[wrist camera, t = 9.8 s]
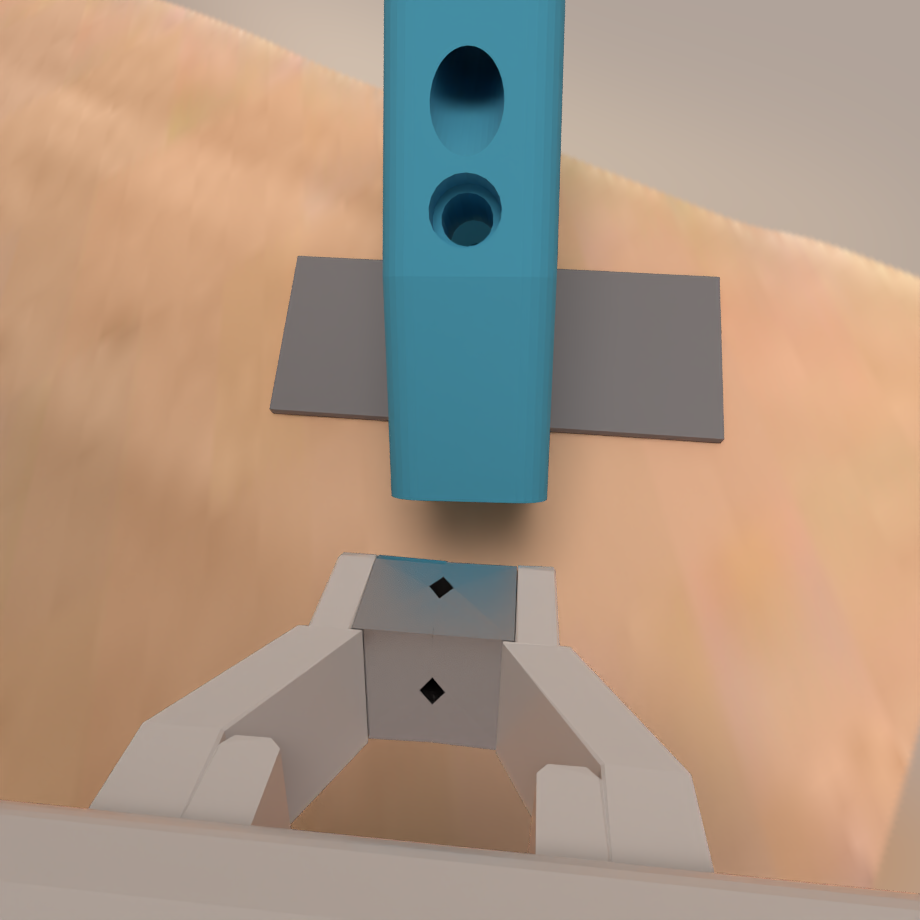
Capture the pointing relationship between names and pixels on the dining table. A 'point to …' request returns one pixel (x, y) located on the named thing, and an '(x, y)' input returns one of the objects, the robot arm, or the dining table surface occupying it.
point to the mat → (574, 358)
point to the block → (471, 244)
